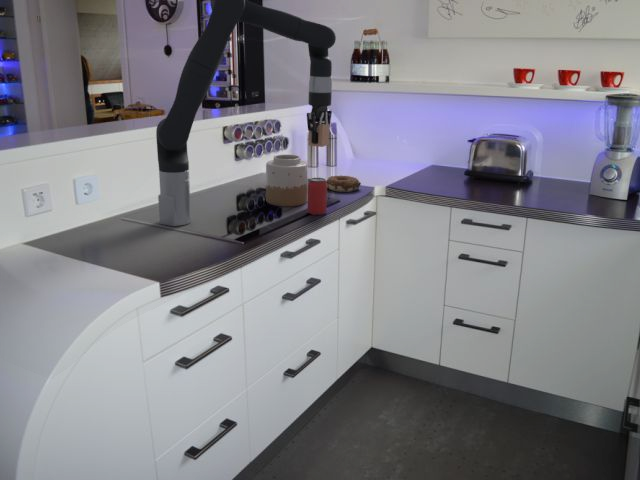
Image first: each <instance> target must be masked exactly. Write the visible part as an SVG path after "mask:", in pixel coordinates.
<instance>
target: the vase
mask: <svg viewBox="0 0 640 480" xmlns="http://www.w3.org/2000/svg"><path fill="white" fill-rule="evenodd" d="M265 164H266V165H265V200H266V202H267V203H268V204H269V205H272V206H278V207H297V206H302V205H305V204H306V203H308V178H309V177H308V174H309V165H308V162H307V161H304V160H302V159H301V156H300V155H297V154H296V155H295V154H277V155H274V156H273V159H271V160H268V161H267V162H266V163H265Z"/></svg>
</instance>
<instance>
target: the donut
mask: <svg viewBox="0 0 640 480" xmlns="http://www.w3.org/2000/svg"><path fill="white" fill-rule="evenodd" d="M326 183H327V189H329V190H330V191H334V192H339V193H342V192H343V193H346V192H347V193H349V192H350V193H351V192H354V191H356V190H358V189H359V188H360V186H361V184H362V182H360V180H359V179H358V178H357V177H354V176H350V175H341V174H340V175H334V176H333V175H330V176H329V177H328V178H327V179H326Z"/></svg>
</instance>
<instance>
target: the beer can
mask: <svg viewBox="0 0 640 480" xmlns="http://www.w3.org/2000/svg"><path fill="white" fill-rule="evenodd" d="M326 181H327V179H326V178H323V177H311V178H310V179H309V182H308V183H307V212H308V214H310V215H313V216H322V215H324V214H326V213H327V201H328V199H327V198H328V187H327V183H326Z"/></svg>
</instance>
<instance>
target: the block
mask: <svg viewBox="0 0 640 480" xmlns="http://www.w3.org/2000/svg"><path fill="white" fill-rule="evenodd" d="M316 126H317V125H316ZM311 139H312V132H311V131H308V146H310V147H320V148H323V147H326V146H329V145H330V144H329V143H330V128H329V124H321V125H320V126H319V131H318V143H317V144H313V143H312V142H311Z"/></svg>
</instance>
